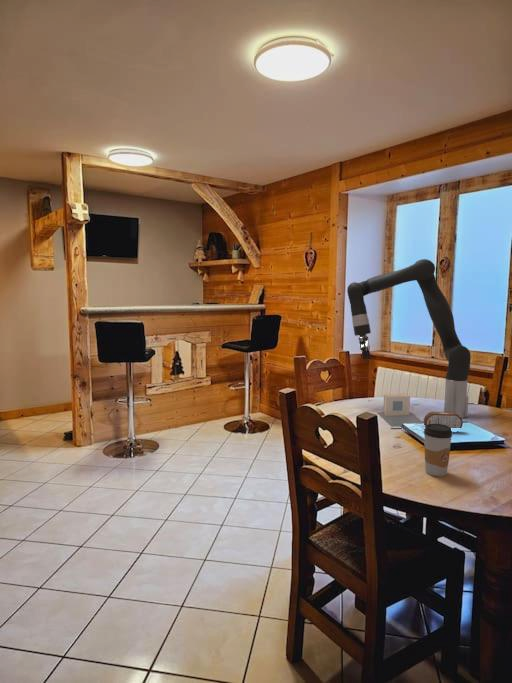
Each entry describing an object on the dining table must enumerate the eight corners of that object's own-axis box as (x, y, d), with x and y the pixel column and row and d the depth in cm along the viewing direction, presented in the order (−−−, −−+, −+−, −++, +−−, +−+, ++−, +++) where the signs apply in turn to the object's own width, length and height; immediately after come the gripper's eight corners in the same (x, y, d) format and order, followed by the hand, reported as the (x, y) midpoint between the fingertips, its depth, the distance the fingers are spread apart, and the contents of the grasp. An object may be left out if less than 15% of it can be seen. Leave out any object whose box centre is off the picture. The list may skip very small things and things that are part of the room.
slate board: (410, 414, 208) (410, 412, 208) (429, 429, 186) (429, 426, 186) (376, 414, 208) (376, 412, 208) (391, 429, 186) (391, 426, 186)
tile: (407, 413, 205) (407, 394, 204) (409, 415, 202) (410, 396, 201) (383, 413, 205) (383, 394, 204) (385, 415, 202) (385, 396, 201)
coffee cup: (436, 480, 136) (438, 432, 134) (416, 470, 143) (418, 425, 142) (456, 475, 139) (458, 429, 137) (435, 466, 147) (437, 421, 145)
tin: (460, 431, 183) (461, 411, 182) (463, 434, 180) (464, 413, 179) (422, 430, 184) (423, 410, 183) (424, 432, 181) (425, 412, 180)
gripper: (367, 323, 201) (373, 358, 200) (371, 323, 214) (376, 356, 214) (350, 326, 204) (356, 360, 203) (355, 326, 217) (361, 358, 216)
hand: (367, 358), depth 208 cm, fingers open, 8 cm apart
